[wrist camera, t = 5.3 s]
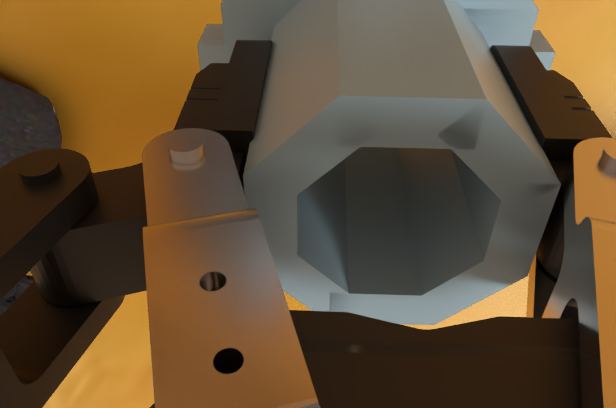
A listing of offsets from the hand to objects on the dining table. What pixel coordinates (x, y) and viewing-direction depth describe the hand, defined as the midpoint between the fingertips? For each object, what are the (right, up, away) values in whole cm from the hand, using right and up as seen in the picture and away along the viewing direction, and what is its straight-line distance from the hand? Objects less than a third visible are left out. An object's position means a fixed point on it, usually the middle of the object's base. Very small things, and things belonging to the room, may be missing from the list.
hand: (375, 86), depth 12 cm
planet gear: (0, +1, +2) cm, 2 cm away
